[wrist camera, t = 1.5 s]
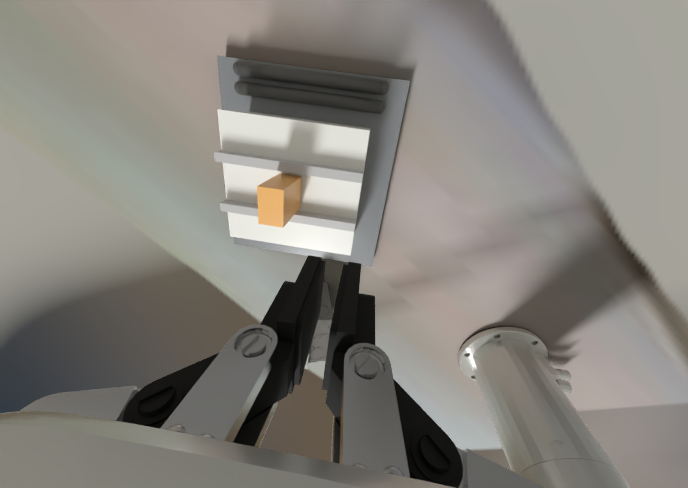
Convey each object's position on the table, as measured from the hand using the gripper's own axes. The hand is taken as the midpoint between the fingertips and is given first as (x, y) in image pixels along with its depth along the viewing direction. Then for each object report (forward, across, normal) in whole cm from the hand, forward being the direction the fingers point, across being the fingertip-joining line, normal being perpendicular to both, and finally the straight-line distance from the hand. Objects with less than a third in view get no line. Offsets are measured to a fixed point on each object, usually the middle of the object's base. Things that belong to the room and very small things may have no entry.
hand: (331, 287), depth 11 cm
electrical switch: (+21, +4, +19) cm, 29 cm away
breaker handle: (+14, +6, 0) cm, 15 cm away
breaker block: (+21, +6, 0) cm, 22 cm away
